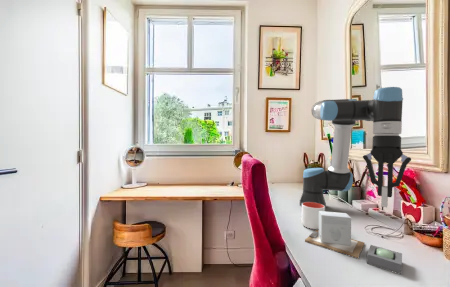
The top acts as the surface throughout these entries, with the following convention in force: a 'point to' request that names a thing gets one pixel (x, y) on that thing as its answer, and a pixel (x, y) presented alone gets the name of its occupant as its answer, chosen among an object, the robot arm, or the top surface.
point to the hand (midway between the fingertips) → (384, 206)
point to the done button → (384, 253)
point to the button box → (385, 260)
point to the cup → (311, 214)
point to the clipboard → (337, 245)
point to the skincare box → (335, 228)
